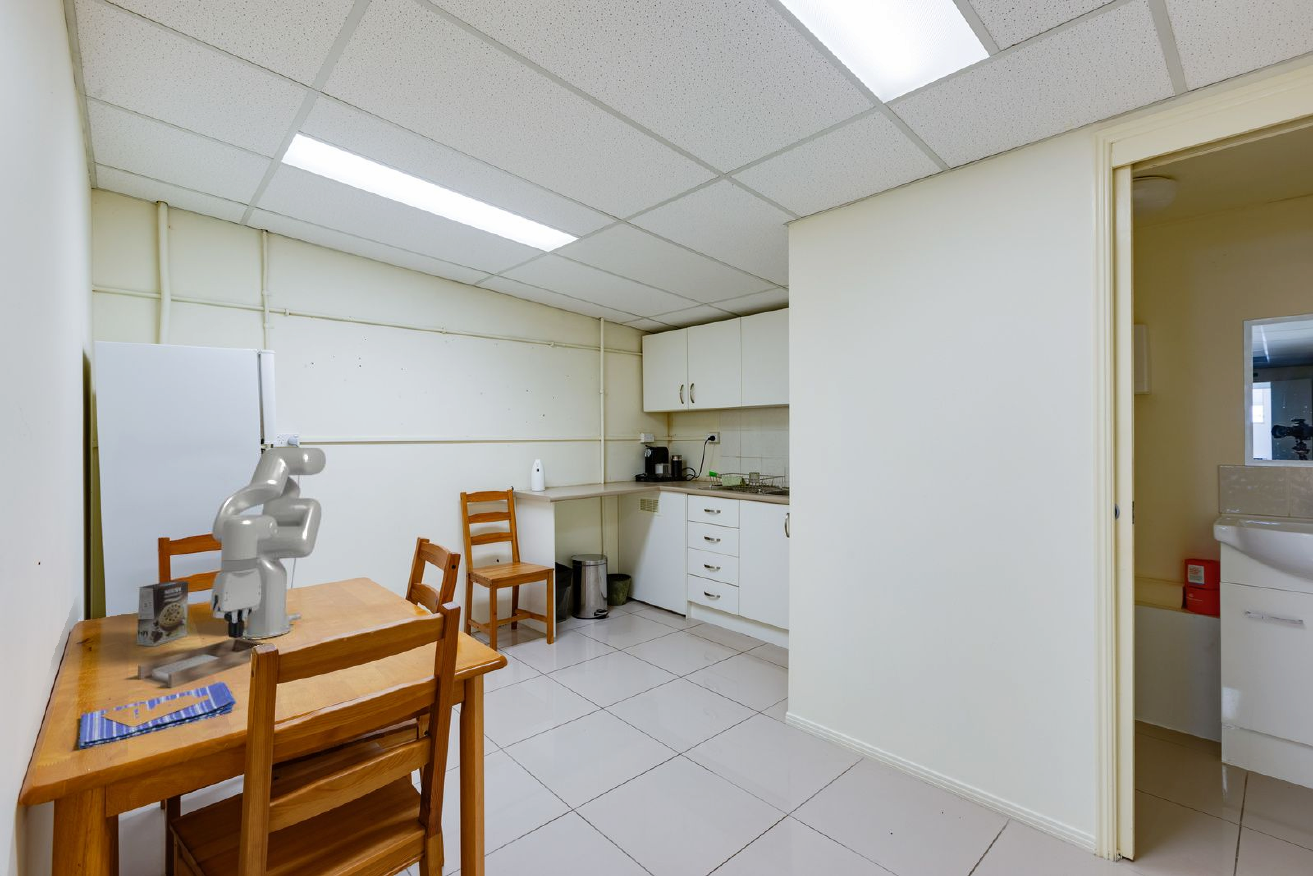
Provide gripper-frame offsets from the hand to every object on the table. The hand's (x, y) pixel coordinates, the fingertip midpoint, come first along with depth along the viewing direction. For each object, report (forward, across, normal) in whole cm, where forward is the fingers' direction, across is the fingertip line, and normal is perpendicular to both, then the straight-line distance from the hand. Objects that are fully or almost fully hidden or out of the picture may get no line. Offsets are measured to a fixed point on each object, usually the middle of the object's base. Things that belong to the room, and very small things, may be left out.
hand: (235, 636), depth 147 cm
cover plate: (+6, +10, -1) cm, 12 cm away
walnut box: (+7, +6, -1) cm, 9 cm away
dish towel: (+8, +24, +16) cm, 30 cm away
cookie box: (+6, -2, -35) cm, 35 cm away
